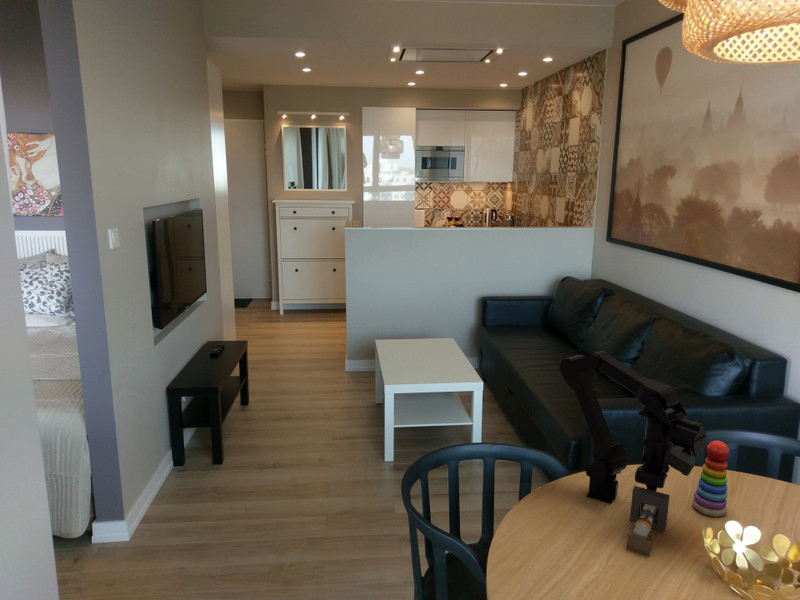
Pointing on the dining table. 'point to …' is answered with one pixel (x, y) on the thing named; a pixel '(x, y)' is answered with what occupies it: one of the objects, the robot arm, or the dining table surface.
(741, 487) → the dining table surface
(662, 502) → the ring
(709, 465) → the stacking toy
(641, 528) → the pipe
